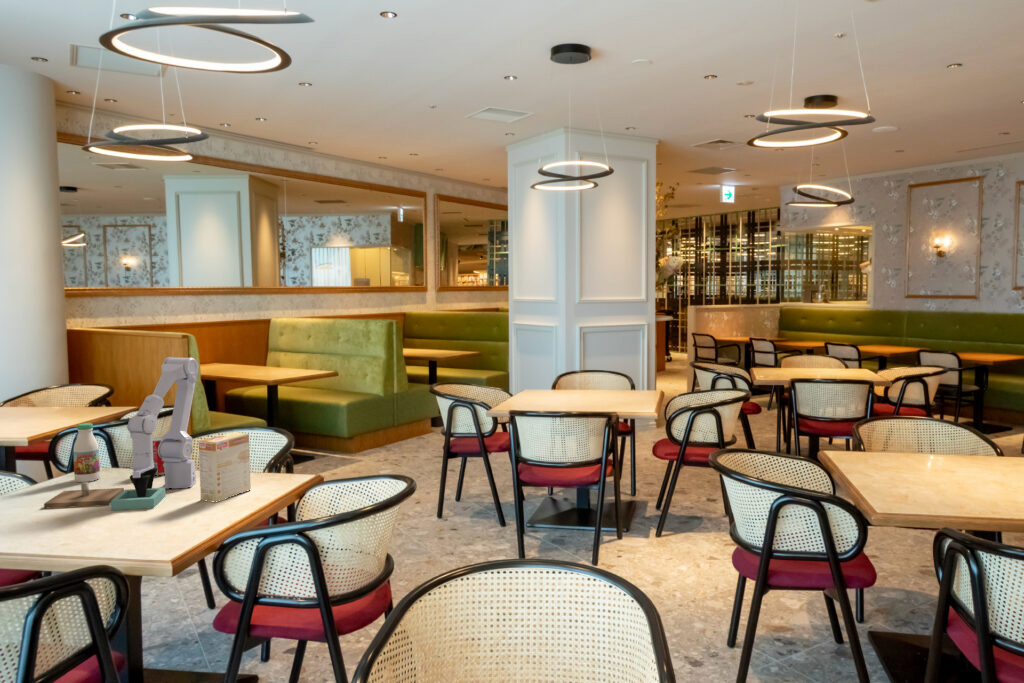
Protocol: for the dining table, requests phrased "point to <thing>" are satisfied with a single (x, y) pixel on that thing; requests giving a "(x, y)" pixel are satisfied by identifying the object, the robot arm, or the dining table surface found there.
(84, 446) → the milk bottle
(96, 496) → the board
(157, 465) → the soda can
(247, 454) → the coffeecake box
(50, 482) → the dining table surface
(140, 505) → the teal square frame
